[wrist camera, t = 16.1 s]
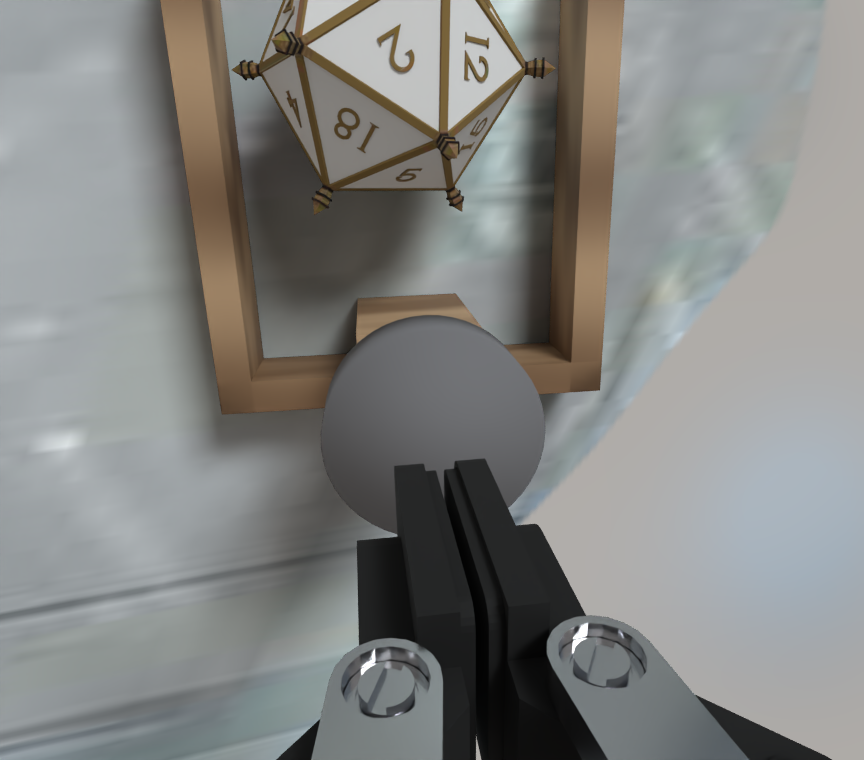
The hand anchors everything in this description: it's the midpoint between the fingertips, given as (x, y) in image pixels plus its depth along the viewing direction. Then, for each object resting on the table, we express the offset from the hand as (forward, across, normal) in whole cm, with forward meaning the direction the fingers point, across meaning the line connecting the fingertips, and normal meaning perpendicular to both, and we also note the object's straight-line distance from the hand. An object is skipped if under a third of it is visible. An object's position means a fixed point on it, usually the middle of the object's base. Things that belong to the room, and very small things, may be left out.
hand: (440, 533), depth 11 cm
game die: (+15, 0, -9) cm, 18 cm away
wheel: (+9, -1, +1) cm, 9 cm away
